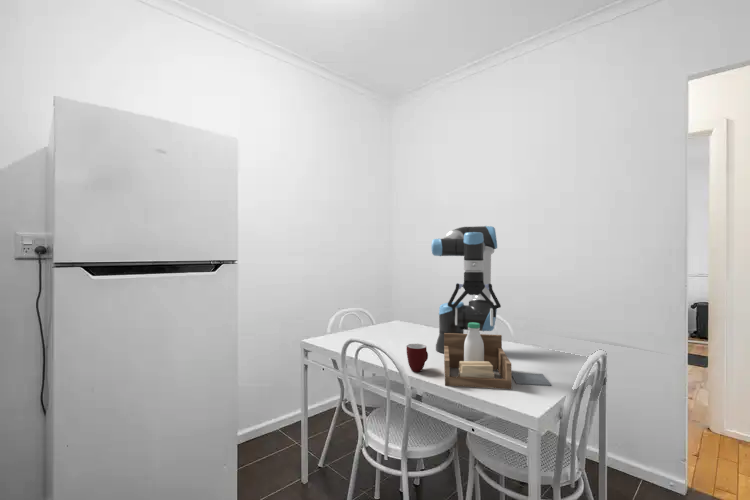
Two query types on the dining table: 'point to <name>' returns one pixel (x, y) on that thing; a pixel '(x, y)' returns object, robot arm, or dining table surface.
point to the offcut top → (475, 367)
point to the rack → (491, 354)
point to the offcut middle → (476, 374)
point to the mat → (530, 379)
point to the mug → (417, 356)
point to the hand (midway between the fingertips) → (473, 325)
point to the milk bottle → (473, 344)
